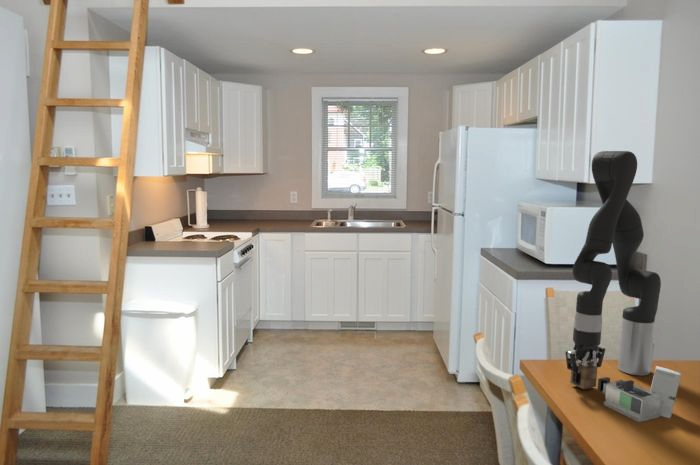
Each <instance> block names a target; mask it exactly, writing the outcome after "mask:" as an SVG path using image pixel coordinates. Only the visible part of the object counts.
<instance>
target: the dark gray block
mask: <svg viewBox="0 0 700 465" xmlns="http://www.w3.org/2000/svg"><path fill="white" fill-rule="evenodd" d="M634 383H635V381H634V380H633V379H629V380H625V383H624V391H626V392H629V391H633V386H634V385H635V384H634Z"/></svg>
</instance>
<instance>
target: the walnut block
mask: <svg viewBox="0 0 700 465" xmlns="http://www.w3.org/2000/svg"><path fill="white" fill-rule="evenodd" d="M578 366H579V365H578V364H577V366H576V368H578ZM598 368H599V367H596V366H592V365H591V364H588V363H587V362H586V363H585V365H584V366H583V367H582V369H581V372H580V373H581V379H580V385H576V384H574V383H573V381H572V376H573V371H571V370H570V382H569V384H572V385H573V386H576V387H578V388H580V389H582V390H586V389H591V388H596V387H597V381H598Z"/></svg>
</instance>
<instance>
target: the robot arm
mask: <svg viewBox="0 0 700 465" xmlns="http://www.w3.org/2000/svg"><path fill="white" fill-rule="evenodd" d="M637 170H638V158H637V156H636V154H635V153H633V152H631V151H629V150H628V151H627V150H604V151H599V152H596V153H595V154H594V155H593V158H592V160H591V173H592V177H593V180H594V184H595V187H596V188H597V191H598V194H599V197H600V200H601V202H602V205H601V207H600V208H599V209H598V210H597V211H596V213H594V215H593V217H592V218H591V220H590V223H589V224H588V228H587V233H586V238H585V242H584V244H583V246H582V248H581V250H580V252H579V253H578V256H577V258H576V260H575V261H574V264H573V266H572V276H573V279H574V280H576V281H577V282H579V283H581V284H587V285H591V288H590V290H585V291H583V290H582V291H579V292H578V294H577V296H576V306H575V315H574V320H573V332H572V341H573V342H574V346H573V349H572V350H570V351H569V350H566V351H565V360H566V361H565V362H566V367H567V370H569V371H570V372H571V371H573V376H572V381H573V383H574V384H576V385H580V379H581V373H580V372H581V369H582V367H583V366H584V365H585V363H588V364H591V365H592V366H596V367H598V368H602V364H603V360H604V356H605V354H606V353H605V352H606V348H605V347H602V346H600V344H601V341H602V330H603V329H602V328H603V304H604V299H605V296H606V294H607V292H608V288H609V287H610V286H609V285H610V283H611V282H612V281H611V280H612V278H613V272H612V271H613V270H612V268H611V267H610V265H609V264H608V263H606V262H604V261H598V260H595V259H596V258H597V257H598V255H605V254H609V253H610V251H611V250H612V247H613V251H614V256H615V262H616V272H617V281H618V285H619V290H620V292H621V293H622V294H623V295H624V296H627V297H630V298H634V299H638V300H639V301H640V302H639V304H638V305H636V306H630V307H625V308H623V310H622V316H621V318H622V319H621V326H620V327H621V330H620V340H619V350H618V361H617V362H618V363H617V364H618V365H617V369H618V370H619V371H621V372H623V373H626V374H629V375H634V376H648V375H650V373H652V370H653V369H652V368H653V359H654V358H653V357H654V348H655V344H654V342H653V341H654V333H655V332H654V331H655V320H656V315H657V312H658V307H659V300H660V293H661V285H662V280H661V277H660V274H658V273H657V272H655V271H649V270H643V269H638V268H636V266H635V264H634V256H635V254H636V252H637V251H638V249H639V247H640V246H641V243H642V242H643V240H644V228H643V223H642V220H641V215H640V213H639V212H638V211H637V209H636V208H635V207H634V205H632V203H631V202H629V200H628V199H627V198H628V196H629V193H630V190H631V188H632V185H633V183H634V180H635V177H636V174H637ZM577 364H578V365H579V366H578V368H576V366H577ZM574 384H573V385H574ZM576 385H575V386H576Z"/></svg>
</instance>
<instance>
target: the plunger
mask: <svg viewBox="0 0 700 465" xmlns="http://www.w3.org/2000/svg"><path fill="white" fill-rule="evenodd" d="M625 381H626V380H625ZM625 381H624V380H623V379H619V380H615V381H614V380H613V381H612V382H611V377H608V376H605V377H601V378H597V389H596V391H597V392H598V393H603V394H604V395H606V386H607V384H609V383H611V384H613V386H616V387H617V386H618V387H621V388H623V389H624V383H625ZM630 392H632V391H630ZM632 393H634V394H635V392H632Z"/></svg>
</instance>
